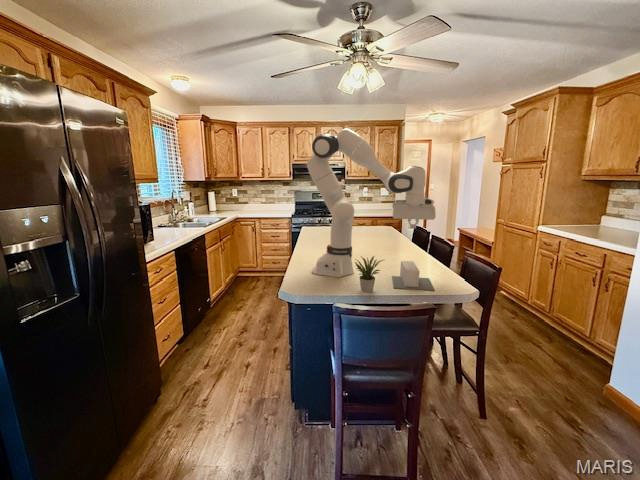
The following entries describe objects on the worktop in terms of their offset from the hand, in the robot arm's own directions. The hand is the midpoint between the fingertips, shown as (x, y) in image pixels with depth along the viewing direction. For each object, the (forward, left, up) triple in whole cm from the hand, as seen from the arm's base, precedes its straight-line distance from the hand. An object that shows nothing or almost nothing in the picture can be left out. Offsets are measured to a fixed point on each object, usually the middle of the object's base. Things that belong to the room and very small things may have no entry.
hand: (412, 228), depth 150 cm
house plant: (-20, -23, -25) cm, 40 cm away
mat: (0, -11, -25) cm, 28 cm away
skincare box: (-2, -2, -20) cm, 21 cm away
